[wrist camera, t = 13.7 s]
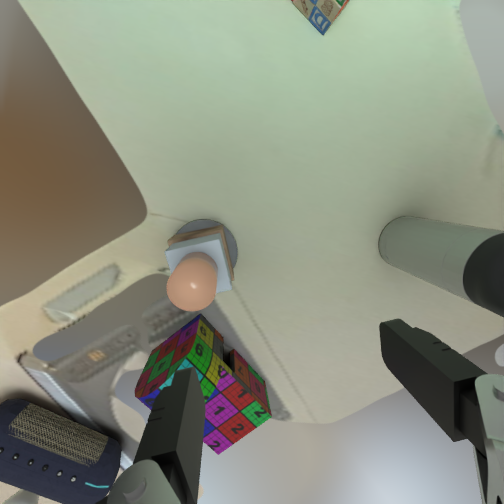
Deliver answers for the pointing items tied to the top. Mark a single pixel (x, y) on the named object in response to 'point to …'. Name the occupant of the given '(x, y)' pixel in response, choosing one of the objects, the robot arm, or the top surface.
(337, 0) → the stack of blocks
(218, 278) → the grey-blue top block
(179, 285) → the peach rounded cylinder
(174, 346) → the numbered checker block
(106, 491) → the portable speaker
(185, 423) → the robot arm
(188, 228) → the slate coaster
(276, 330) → the top surface
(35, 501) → the lightbulb
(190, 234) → the walnut base block
